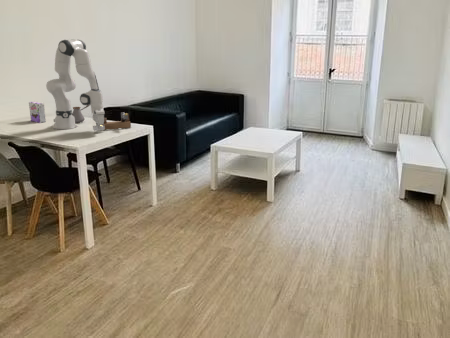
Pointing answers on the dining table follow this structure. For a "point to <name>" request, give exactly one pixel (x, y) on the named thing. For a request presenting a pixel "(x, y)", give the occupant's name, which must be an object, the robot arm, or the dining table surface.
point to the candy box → (37, 112)
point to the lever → (123, 116)
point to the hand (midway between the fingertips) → (98, 128)
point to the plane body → (117, 124)
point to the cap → (97, 127)
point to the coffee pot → (78, 114)
